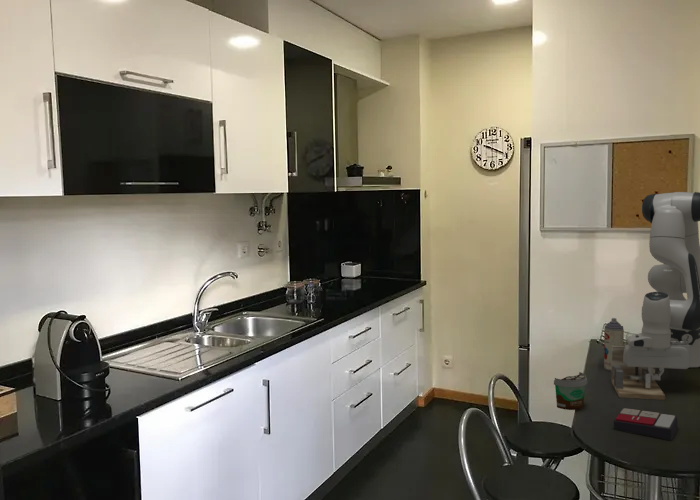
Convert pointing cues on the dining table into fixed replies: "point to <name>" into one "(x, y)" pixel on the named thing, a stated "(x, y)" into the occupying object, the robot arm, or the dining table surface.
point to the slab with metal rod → (642, 378)
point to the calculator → (647, 423)
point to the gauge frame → (631, 386)
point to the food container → (570, 392)
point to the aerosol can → (612, 341)
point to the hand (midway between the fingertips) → (655, 379)
